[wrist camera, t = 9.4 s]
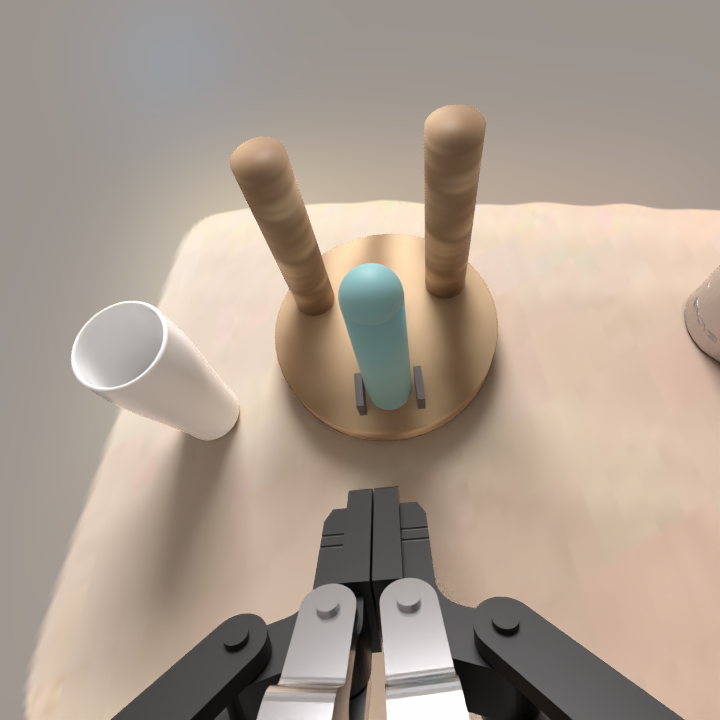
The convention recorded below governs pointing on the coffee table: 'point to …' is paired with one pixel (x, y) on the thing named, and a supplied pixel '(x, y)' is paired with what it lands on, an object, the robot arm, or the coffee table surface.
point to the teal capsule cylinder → (378, 332)
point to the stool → (412, 266)
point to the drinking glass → (152, 371)
